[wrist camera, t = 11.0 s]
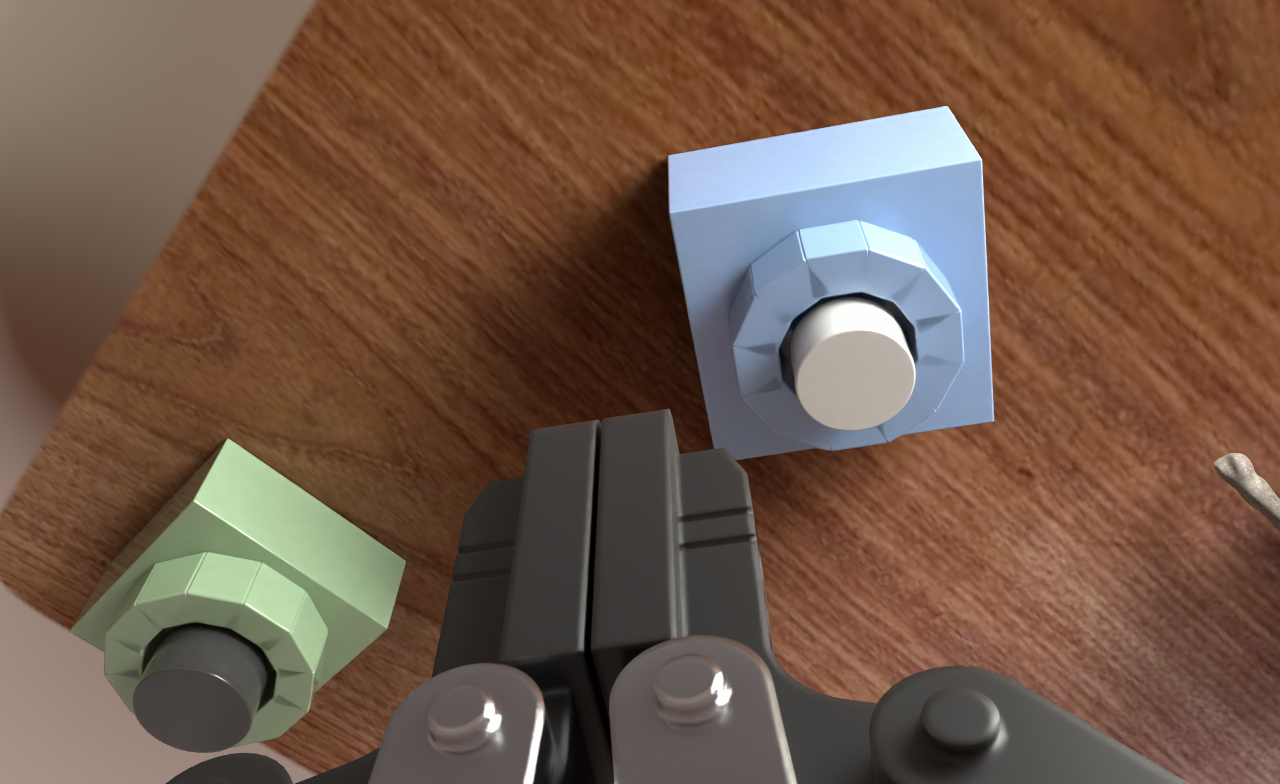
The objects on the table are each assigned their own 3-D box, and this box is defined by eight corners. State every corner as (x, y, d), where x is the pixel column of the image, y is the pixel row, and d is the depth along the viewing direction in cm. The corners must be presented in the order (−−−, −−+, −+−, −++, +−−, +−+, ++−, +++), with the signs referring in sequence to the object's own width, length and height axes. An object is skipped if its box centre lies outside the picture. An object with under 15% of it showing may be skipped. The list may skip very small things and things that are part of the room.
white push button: (795, 404, 33) (802, 440, 31) (781, 306, 31) (788, 339, 30) (908, 386, 32) (920, 422, 31) (899, 287, 31) (911, 319, 29)
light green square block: (109, 563, 43) (42, 675, 38) (227, 437, 40) (170, 541, 35) (284, 671, 46) (241, 788, 41) (406, 560, 43) (376, 672, 38)
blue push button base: (710, 389, 39) (719, 500, 34) (667, 155, 35) (668, 241, 30) (962, 349, 38) (1010, 458, 33) (948, 105, 34) (999, 185, 29)
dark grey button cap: (134, 664, 39) (109, 712, 37) (195, 603, 37) (173, 650, 35) (228, 721, 40) (209, 769, 38) (292, 663, 38) (275, 711, 37)
